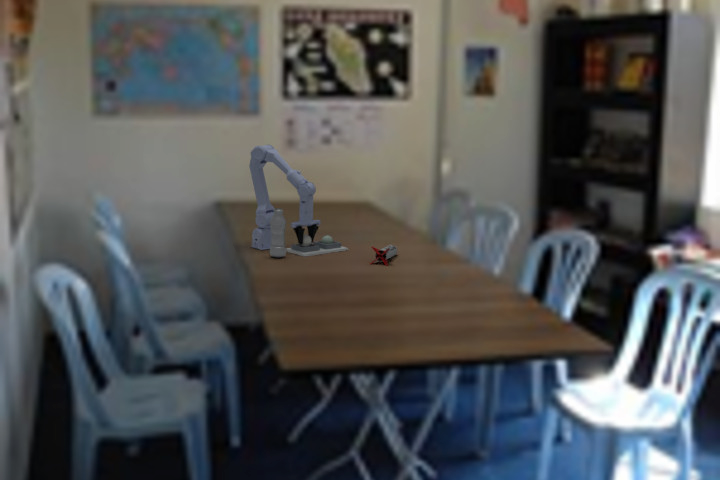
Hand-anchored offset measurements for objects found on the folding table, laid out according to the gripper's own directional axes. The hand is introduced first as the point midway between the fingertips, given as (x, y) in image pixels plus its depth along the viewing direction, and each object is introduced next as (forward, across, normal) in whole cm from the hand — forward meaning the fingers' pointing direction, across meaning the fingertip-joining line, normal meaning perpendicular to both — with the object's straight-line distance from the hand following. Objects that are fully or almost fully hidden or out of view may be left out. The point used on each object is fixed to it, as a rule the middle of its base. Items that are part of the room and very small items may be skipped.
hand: (305, 243), depth 365 cm
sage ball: (0, +12, 0) cm, 12 cm away
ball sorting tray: (+4, +6, 0) cm, 7 cm away
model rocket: (+5, +19, -30) cm, 36 cm away
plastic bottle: (+4, -16, -2) cm, 17 cm away
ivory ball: (-1, 0, 0) cm, 1 cm away
